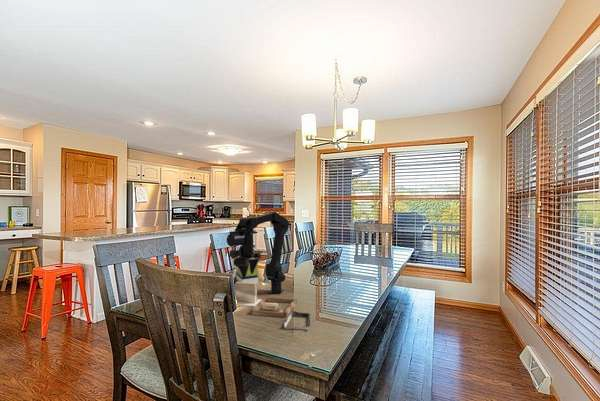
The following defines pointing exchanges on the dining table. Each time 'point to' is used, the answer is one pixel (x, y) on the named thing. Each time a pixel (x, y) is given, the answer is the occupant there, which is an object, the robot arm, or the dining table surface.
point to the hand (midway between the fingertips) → (248, 276)
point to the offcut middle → (271, 310)
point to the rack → (270, 313)
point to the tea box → (248, 275)
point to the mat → (249, 303)
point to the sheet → (246, 292)
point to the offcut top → (270, 306)
